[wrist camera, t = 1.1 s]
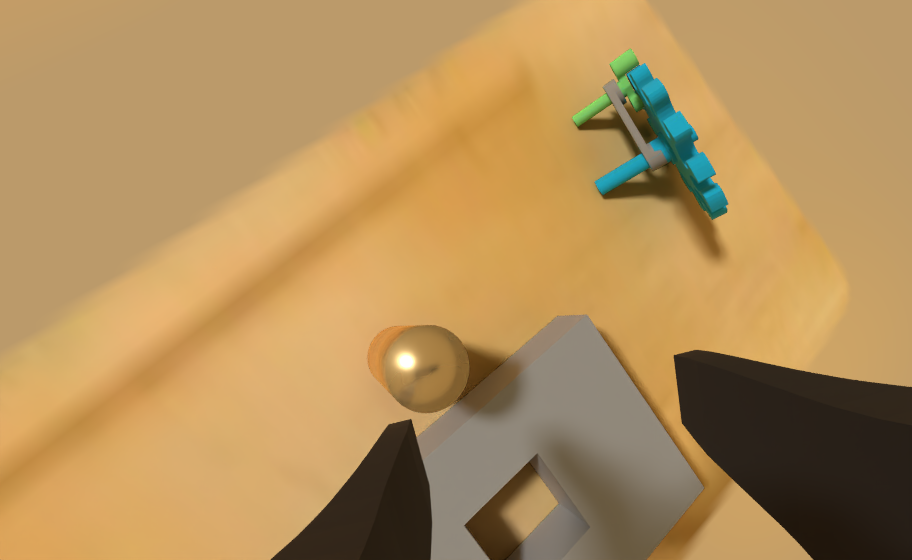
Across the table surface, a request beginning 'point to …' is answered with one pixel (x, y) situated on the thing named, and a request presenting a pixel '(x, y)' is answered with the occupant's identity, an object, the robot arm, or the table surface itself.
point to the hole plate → (559, 453)
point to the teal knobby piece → (665, 124)
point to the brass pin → (420, 366)
